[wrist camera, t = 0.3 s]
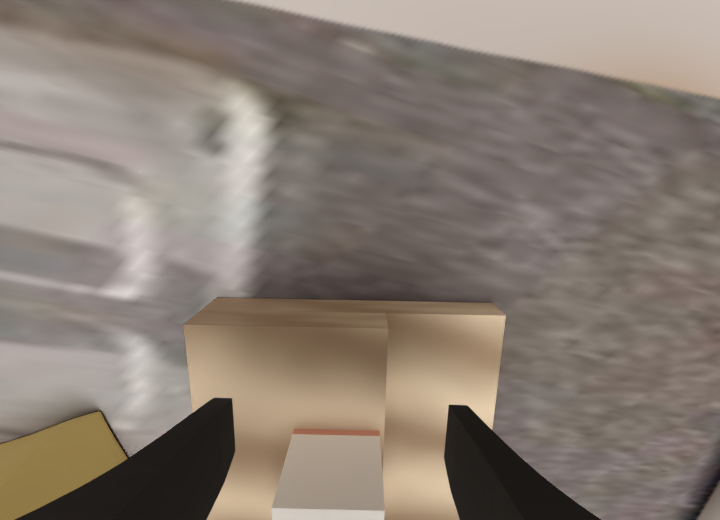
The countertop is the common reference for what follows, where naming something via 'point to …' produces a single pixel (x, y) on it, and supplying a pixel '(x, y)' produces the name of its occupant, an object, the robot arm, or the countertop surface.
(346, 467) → the white cube
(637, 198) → the countertop surface
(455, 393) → the step
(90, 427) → the cheese
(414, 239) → the countertop surface
